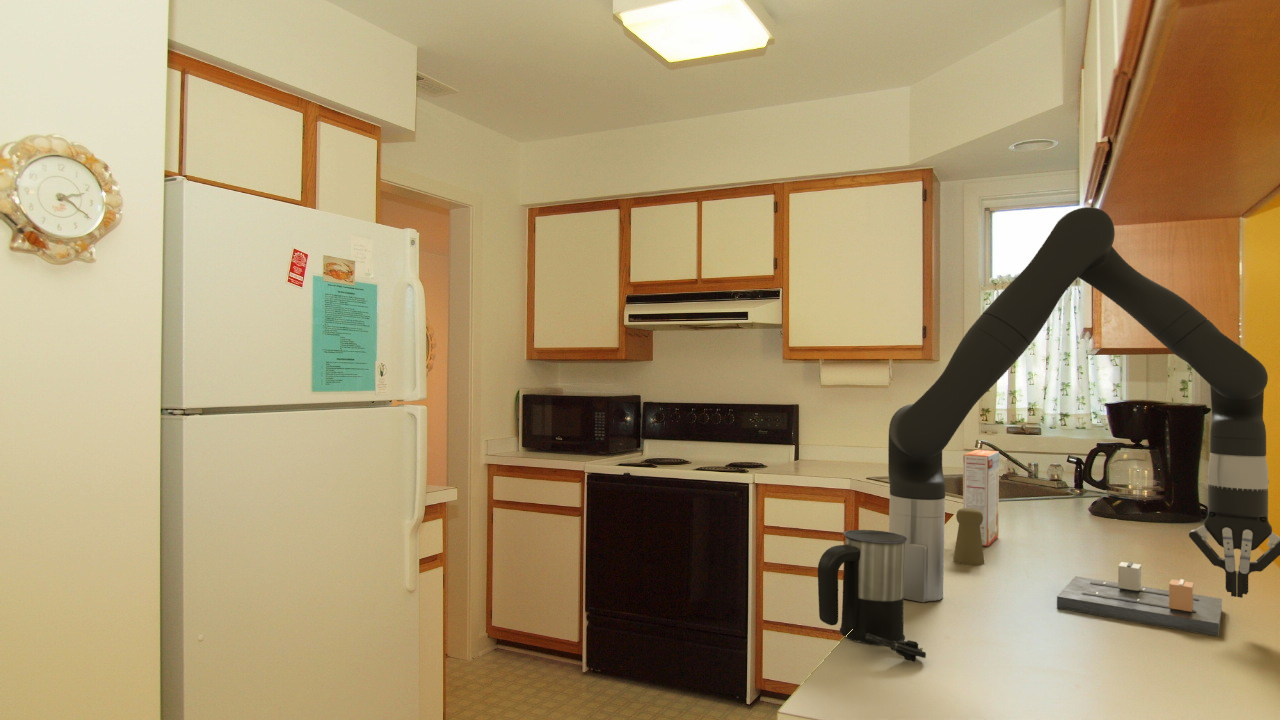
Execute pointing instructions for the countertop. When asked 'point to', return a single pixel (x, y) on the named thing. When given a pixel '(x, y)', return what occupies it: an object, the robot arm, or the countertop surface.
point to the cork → (969, 537)
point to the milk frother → (867, 590)
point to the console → (1140, 606)
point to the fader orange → (1181, 595)
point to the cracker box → (983, 490)
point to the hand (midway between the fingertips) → (1237, 595)
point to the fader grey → (1129, 576)
